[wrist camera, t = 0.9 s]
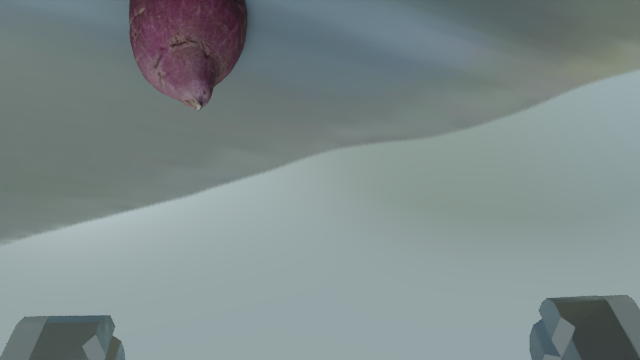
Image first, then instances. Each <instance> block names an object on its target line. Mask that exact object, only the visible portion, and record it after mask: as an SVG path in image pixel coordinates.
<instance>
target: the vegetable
mask: <svg viewBox="0 0 640 360" xmlns="http://www.w3.org/2000/svg"><path fill="white" fill-rule="evenodd" d="M129 7H130V10H129V21H130V32H129V33H130V41H131V46H132V50H133V53H134V57H135V60H136V62H137V65H138V67H139V69H140V70H141V72H142V74H143V76H144V78H145V79H146V80H147V81H148V82H149V83H150V84H151V85H152V86H153V87H154V88H156V89H157V90H158V91H160V92H161V93H163V94H165V95H167V96H169V97H171V98H174V99H177V100H178V101H180V102H181V103H183V104H185V105H186V106H188V107H190V108H193V109H195V110H196V111H199V110H201V108H202V107H204V106H205V105H206V104H207V103H208V101H209V100H210V97H211V95H212V91H213V88H214V87H215V86H216V85H217V84H218V83H220V82H221V81H222V80H223V79H224V78H225V77H226V76H227V75H228V74H229V73H230V72H231V70H232V69H233V68H234V66H235V64H236V63H237V61H238V59H239V57H240V55H241V52H242V50H243V46H244V42H245V36H246V27H247V11H246V6H245V2H244V0H130V6H129Z"/></svg>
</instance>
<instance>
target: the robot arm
mask: <svg viewBox="0 0 640 360" xmlns="http://www.w3.org/2000/svg"><path fill="white" fill-rule="evenodd" d="M539 312H540V315H541V317H542V319H541V320H540V321H539V322H537V323H536V324H534V325H533V327H532V330H531V334H530V353H531V358H532V360H640V309H639V308H638V306H637V304H636V303H635V301H634V300H633V299H632V298H630V297H629V296H627V295H617V296H616V295H615V296H580V297H560V298H547V299H545V300H544V301H543V302H542V304H541V306H540V309H539ZM114 328H115V325H114V323H113V321H112V318H111V316H110V315H101V316H38V317H24V318H23V319H22V320H21V321H20V322H19V323H18V324H17V325H16V327H15V329H14V331H13V333H12V335H11V337H10V339H9V341H8V343H7V345H6V347H5V349H4V351H3V353H2V355H1V357H0V360H125V354H124V348H123V345H122V343H121V341H120V340H119V339H117V338H116V337H114V336H112V335H113V332H114Z"/></svg>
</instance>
